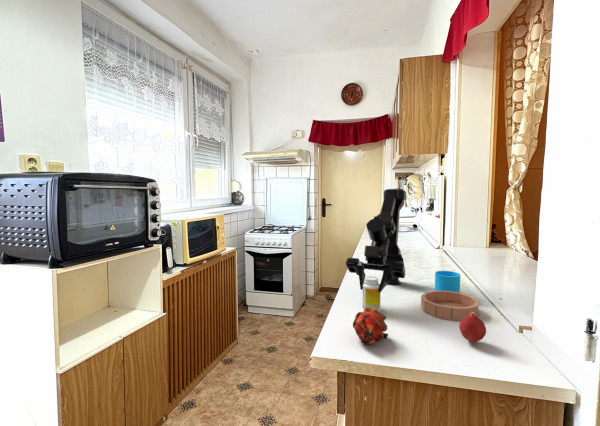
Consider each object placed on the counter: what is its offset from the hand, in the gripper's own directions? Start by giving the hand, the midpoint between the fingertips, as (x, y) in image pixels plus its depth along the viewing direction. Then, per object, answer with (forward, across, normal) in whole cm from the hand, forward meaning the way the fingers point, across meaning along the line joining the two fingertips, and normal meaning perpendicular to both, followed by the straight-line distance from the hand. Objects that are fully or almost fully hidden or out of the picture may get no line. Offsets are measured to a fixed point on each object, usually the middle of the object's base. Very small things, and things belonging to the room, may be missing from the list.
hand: (370, 290), depth 101 cm
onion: (+12, +28, -2) cm, 31 cm away
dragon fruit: (+18, +5, -9) cm, 21 cm away
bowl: (-3, +22, +12) cm, 25 cm away
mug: (-14, +21, +24) cm, 35 cm away
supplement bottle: (+4, 0, +6) cm, 7 cm away
